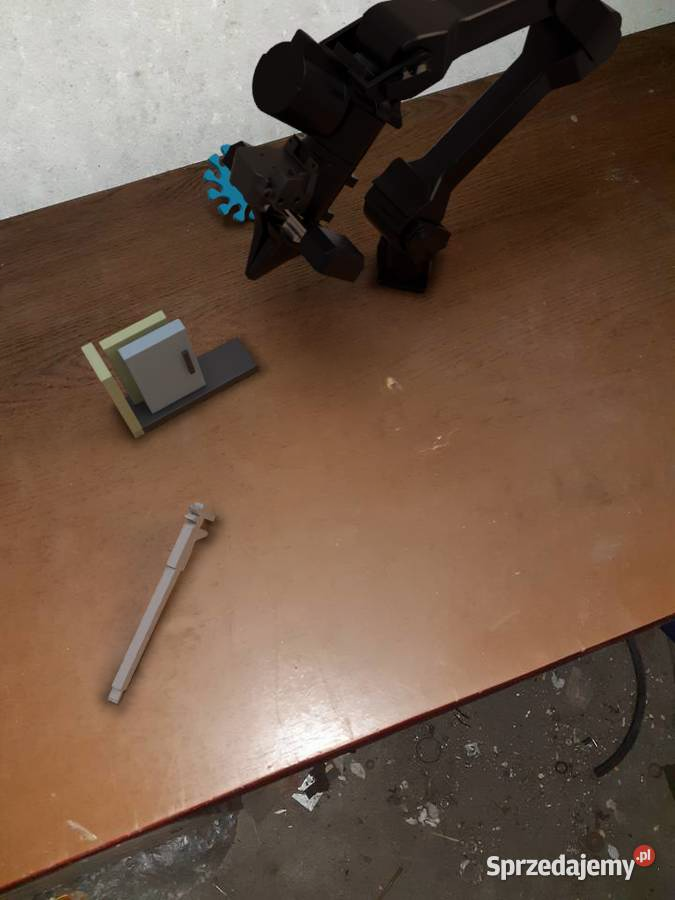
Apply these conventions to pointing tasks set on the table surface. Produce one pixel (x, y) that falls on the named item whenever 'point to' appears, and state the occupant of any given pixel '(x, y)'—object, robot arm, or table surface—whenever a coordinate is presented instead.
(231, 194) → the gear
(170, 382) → the closet door
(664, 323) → the table surface
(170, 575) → the caliper
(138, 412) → the closet frame
